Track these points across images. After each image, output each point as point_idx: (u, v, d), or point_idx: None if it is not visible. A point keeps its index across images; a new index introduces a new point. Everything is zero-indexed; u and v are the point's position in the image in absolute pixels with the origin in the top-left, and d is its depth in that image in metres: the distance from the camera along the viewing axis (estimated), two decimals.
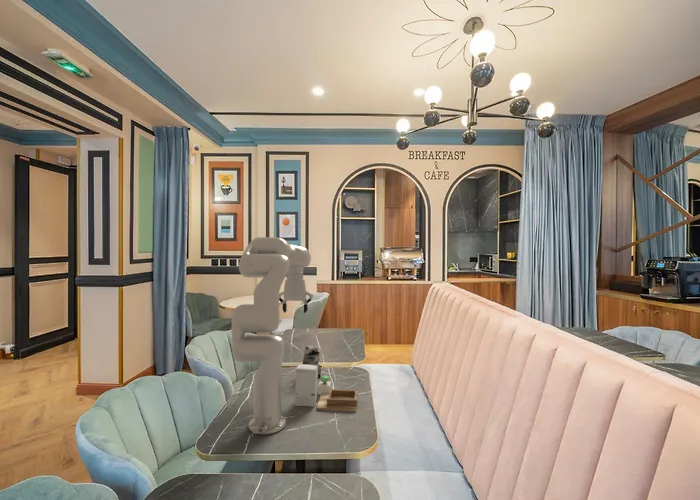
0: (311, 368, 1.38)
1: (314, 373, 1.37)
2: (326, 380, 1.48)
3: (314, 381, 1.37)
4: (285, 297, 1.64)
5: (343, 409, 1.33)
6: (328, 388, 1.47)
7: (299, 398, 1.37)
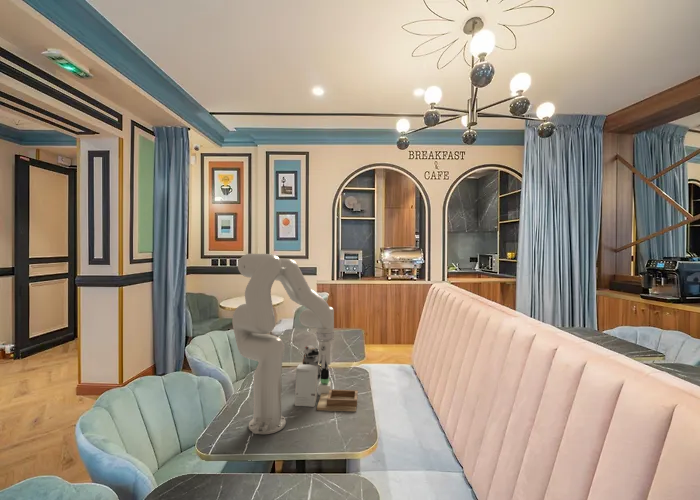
0: (311, 368, 1.38)
1: (314, 373, 1.37)
2: (326, 382, 1.48)
3: (314, 381, 1.37)
4: (330, 361, 1.46)
5: (343, 409, 1.33)
6: (328, 388, 1.47)
7: (299, 398, 1.37)
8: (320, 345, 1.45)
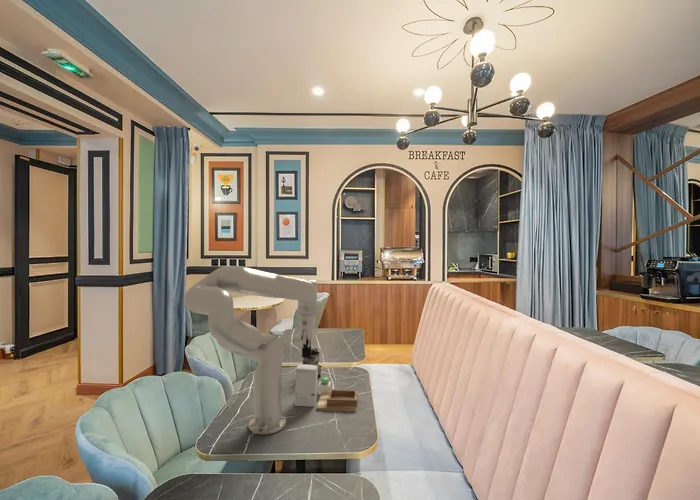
0: (311, 368, 1.38)
1: (314, 373, 1.37)
2: (326, 382, 1.48)
3: (314, 381, 1.37)
4: (312, 337, 1.35)
5: (343, 409, 1.33)
6: (328, 388, 1.47)
7: (299, 398, 1.37)
8: (301, 319, 1.35)
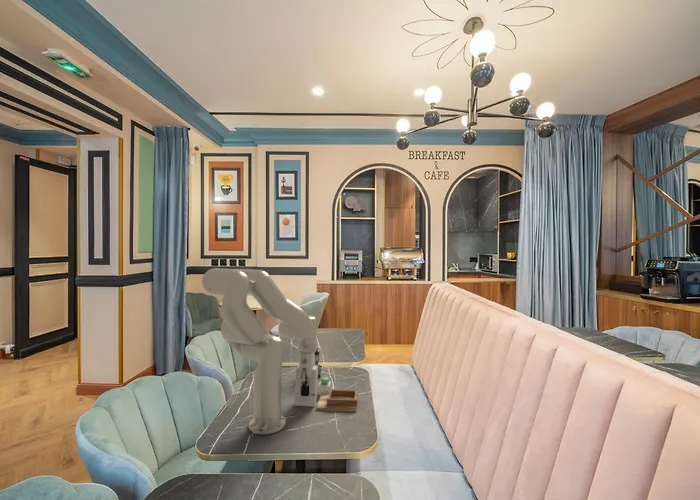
0: None
1: (314, 373, 1.37)
2: (326, 382, 1.48)
3: (314, 381, 1.37)
4: (311, 375, 1.35)
5: (343, 409, 1.33)
6: (328, 388, 1.47)
7: (299, 398, 1.37)
8: (301, 358, 1.35)
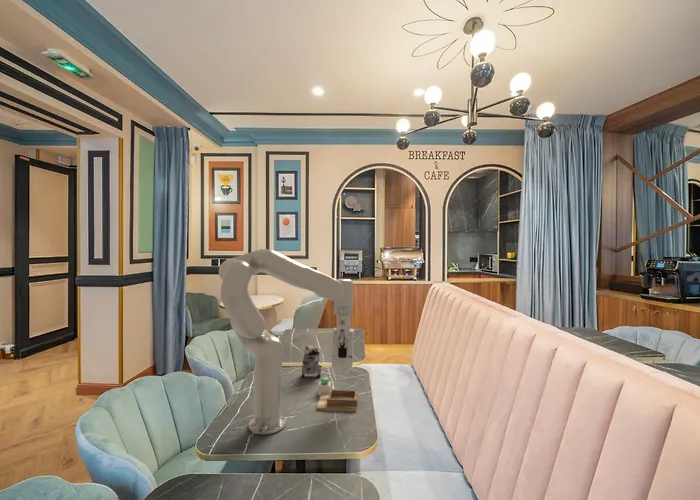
0: None
1: (351, 335, 1.37)
2: (326, 382, 1.48)
3: (351, 343, 1.37)
4: (349, 336, 1.36)
5: (343, 409, 1.33)
6: (328, 388, 1.47)
7: (336, 360, 1.37)
8: (339, 319, 1.35)
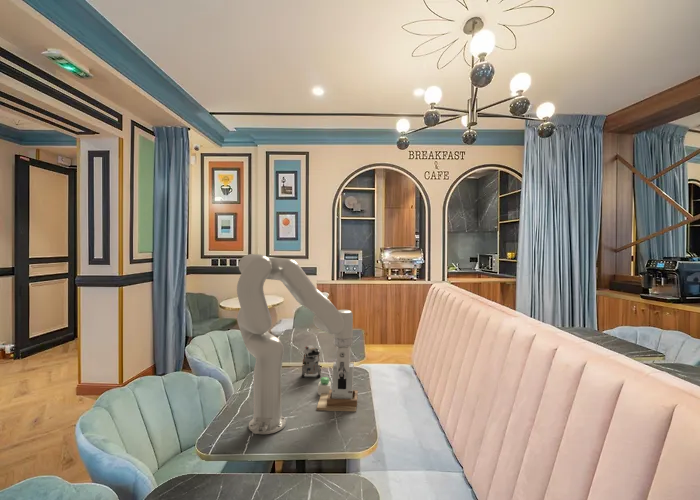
0: None
1: (351, 370, 1.37)
2: (326, 382, 1.48)
3: (351, 378, 1.37)
4: (349, 369, 1.36)
5: (343, 409, 1.33)
6: (328, 388, 1.47)
7: (336, 396, 1.37)
8: (338, 351, 1.35)
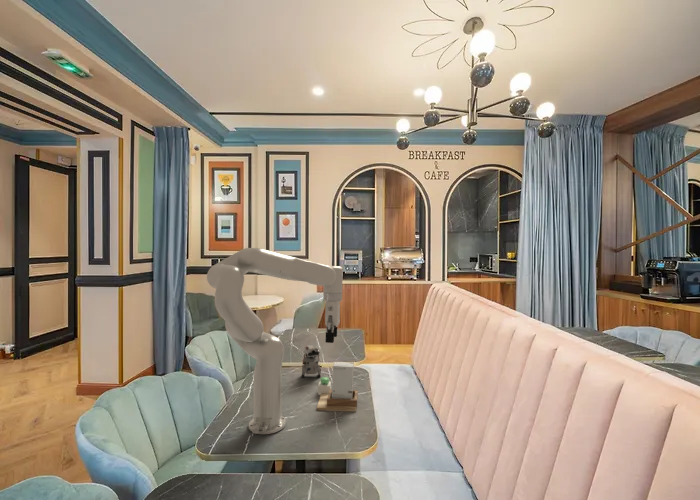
0: (348, 365, 1.38)
1: (351, 370, 1.37)
2: (326, 382, 1.48)
3: (351, 378, 1.37)
4: (337, 323, 1.36)
5: (343, 409, 1.33)
6: (328, 388, 1.47)
7: (336, 396, 1.37)
8: (327, 305, 1.36)
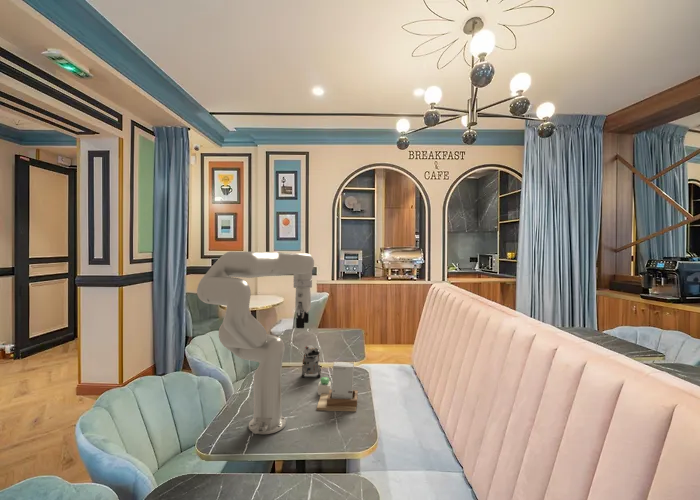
0: (348, 365, 1.38)
1: (351, 370, 1.37)
2: (326, 382, 1.48)
3: (351, 378, 1.37)
4: (307, 309, 1.39)
5: (343, 409, 1.33)
6: (328, 388, 1.47)
7: (336, 396, 1.37)
8: (297, 292, 1.39)
